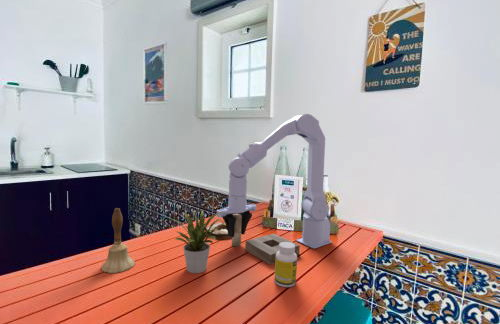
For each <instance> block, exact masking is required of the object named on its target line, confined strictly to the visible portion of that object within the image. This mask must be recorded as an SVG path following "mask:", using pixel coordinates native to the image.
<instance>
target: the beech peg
mask: <svg viewBox="0 0 500 324" xmlns="http://www.w3.org/2000/svg"><path fill="white" fill-rule="evenodd" d="M233 216H234V217H235V218H236V222H235V227H234V237H232V238H231V246H232V247H235V248H236V247H241V245H242V234H241V223H242V215H240V214H233Z"/></svg>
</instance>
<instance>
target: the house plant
mask: <svg viewBox="0 0 500 324" xmlns="http://www.w3.org/2000/svg"><path fill="white" fill-rule="evenodd" d="M191 211H192V213H193V215H194V218H195V224H196V225H195V226H194V223H193V218H191V217H190V216H189V215H188V213H186V212H183V213H184V216H185V219H186V222H187V225H185V226H184V225H183V224H182V223H181V222H179V221H178V220H175V219H171V218H170V220H171V221H174V222H177V223H178V224H179V225H180V226H181V227H182V228H184V230H185V231H186V233H187V234H188V235H189V236H188V235H186V234H185V233H183V232H180V231H177V230H176V233H178V234H179V235H180V236H181V237H176V238H175V240H177V241H181V242H183V243H185V245H183V246H182V247H183V253H184V260H185V266H186V271H187V272H188V273H191V274H200V273H203V272H205V271H206V270H207V265H208V259H209V255H210V249H211V245H210V244H209V243H211V244H214V242H213V240H214V241H215V242H216V239H217V238H216V237H215V236H210V235H211V234H212V232H213V231H215V230H216V229H217V228H215V229H213V230H210V228H211V227H212V226H213V224H216V223H218V222H222V218H218V219H216V220H214V221H212V220H213V219H214V218H215V217H217V214H219V213H221V212H219V213H217V212H216V213H214V214H213V215H211V216H210V217H209V218H208V219H207V217H205V213H204V209H202V210H201V213H200V216H199V219H198V215H197V214H196V212H195V211H194V210H193V209H191ZM206 219H207V221H206V222H205V220H206ZM211 221H212V223H210V222H211ZM209 223H210V225H211V226H210V225H209ZM208 226H210V227H208ZM207 227H208V228H209V229H208V230H206V231H205V229H206V228H207ZM218 228H220V227H218ZM209 231H211V232H210V233H209V234H208V232H209ZM207 234H208V235H207ZM211 239H213V240H211Z"/></svg>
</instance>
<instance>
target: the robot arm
mask: <svg viewBox="0 0 500 324" xmlns="http://www.w3.org/2000/svg"><path fill="white" fill-rule="evenodd" d="M294 135H297V136H299V137H302V139H304V140H305V142H307V143H308V156H307V157H308V158H307V178H306V181H307V182H306V185H307V186H306V188H307V189H305V192H304V194H303V195H304V196H303V199H302V201H301V208H302V210H303V211H304V212H303V215H302V216H303V217H302V233H301V234H302V236H301V238H297V239H296V242H297V243H300V244H303V245H305V246H306V247H309V248H311V249H317V248H321V247H323V246H326V245H329V244H332V240H330V238H331V237H330V236H331V222H330V219H329V218H328V217H327V216H328V215H329V207H328V206H329V205H327V197H326V195H325V192H324V175H325V174H324V172H325V152H326V151H325V149H326V137H325V134H324V132H323V130H322V129H321V126H320V122H319V119H317V118H316V117H315V116H313V115H312V114H309V113H304V114H301V115H299V114H297V115H294V116H293V117H291V119H289V120H286V121H285V122H284V123H282V124H281V125H280V126H279V127H277V128H276V129H275V130H274V131H273V132H271V134H269V135H268V136H267V137H266V138H265V139H263V140H262V141H261V142H258V141H256V142H254V143H252V142H251V143H249V144H248V147H247V148H246V149H244V151H242V152H241V153H240V152H239V153H238V154H237V156H238V157H234V158H232V159H231V160H230V161H229V164H228V169H229V172H230V173H229V180H228V206H227V207H224V208H220V209H218V210H216V213H219V212H221V213H219V214H217V215H216V217H218V219H223V220H222V221H223V223H225V224H226V227H227V230H228V235H229V236H230V237H234V227H235V222H236V218H235V217H234V216H233V215H234V214H240V215H242V223H241V235H245V233H246V230H247V228H248V227H247V226H248V225H249V222H250V220H251V219H252V217H253V213H252V212H256V211H257V205H256V204H254V203H253V204H251V203H250V204H247V189H248V188H247V185H248V183H247V182H248V181H247V174H248V173H249V170H250V169H252V168H253V167H254V166H255V165H257V164H259V162H261V161H262V160H264V158H266V156H267V154H268V150H270V149H271V148H272V147H274V146H275V145H276V144H278V143H279V142H280V141H282V140H283V139H284V138H286V137H287V136H294Z"/></svg>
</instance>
